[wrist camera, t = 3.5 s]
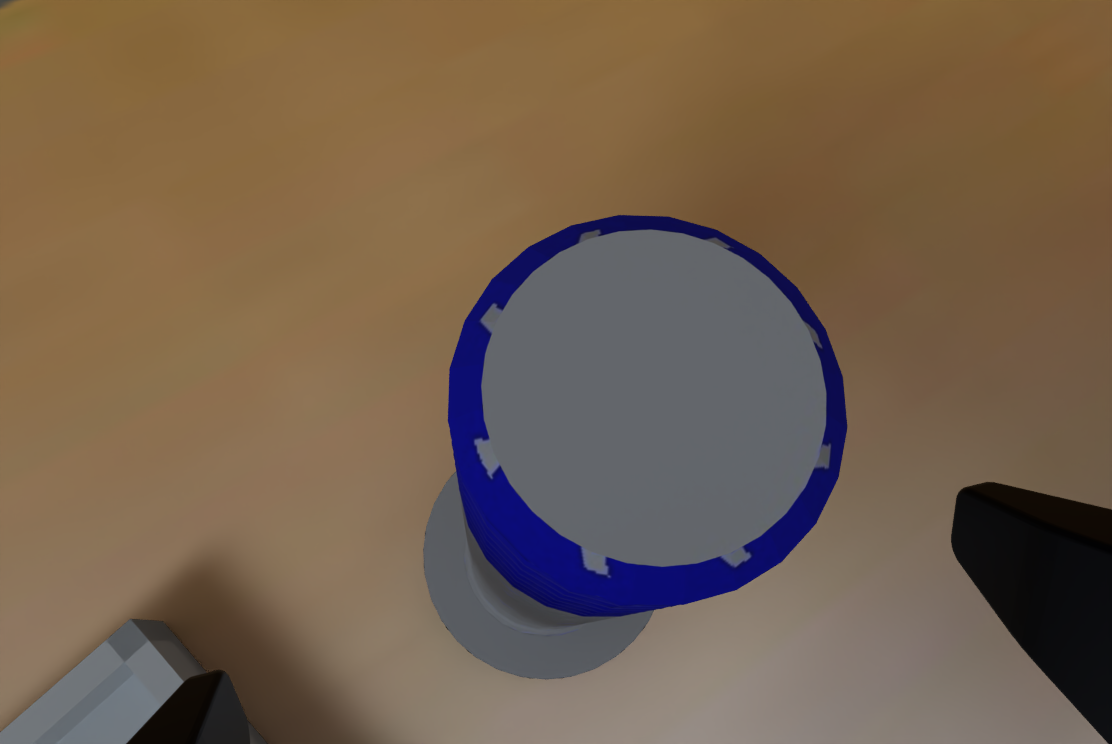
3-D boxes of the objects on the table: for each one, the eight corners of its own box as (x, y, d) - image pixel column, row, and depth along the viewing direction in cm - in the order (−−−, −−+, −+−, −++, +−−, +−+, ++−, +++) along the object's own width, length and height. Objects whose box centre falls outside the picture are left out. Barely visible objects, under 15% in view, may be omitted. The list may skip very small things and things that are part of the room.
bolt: (592, 429, 23) (675, 622, 22) (401, 505, 22) (477, 710, 21) (800, 25, 8) (1104, 575, 7) (227, 209, 7) (461, 879, 6)
